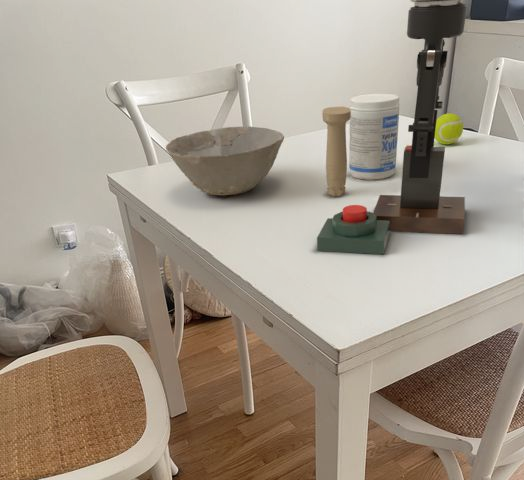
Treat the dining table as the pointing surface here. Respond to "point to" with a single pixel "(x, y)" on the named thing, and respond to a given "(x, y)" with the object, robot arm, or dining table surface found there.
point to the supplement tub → (373, 136)
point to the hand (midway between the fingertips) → (421, 164)
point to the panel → (422, 215)
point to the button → (354, 213)
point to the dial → (422, 182)
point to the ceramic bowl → (226, 158)
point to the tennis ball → (448, 128)
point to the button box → (354, 235)
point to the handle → (336, 148)
